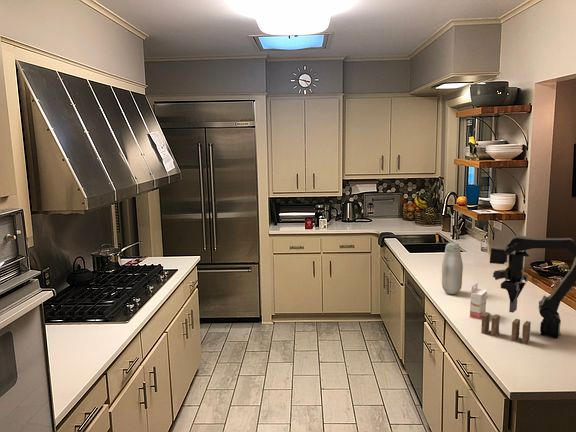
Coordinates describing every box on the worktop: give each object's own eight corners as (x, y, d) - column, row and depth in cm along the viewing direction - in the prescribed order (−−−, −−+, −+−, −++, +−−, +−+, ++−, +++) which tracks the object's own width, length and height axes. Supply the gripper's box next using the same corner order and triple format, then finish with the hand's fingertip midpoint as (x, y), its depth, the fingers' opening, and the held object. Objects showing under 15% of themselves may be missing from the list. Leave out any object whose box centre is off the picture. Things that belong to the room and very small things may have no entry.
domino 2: (498, 332, 197) (499, 315, 196) (494, 336, 193) (495, 318, 192) (494, 331, 198) (495, 314, 197) (490, 335, 194) (491, 317, 193)
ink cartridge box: (480, 319, 212) (481, 288, 209) (469, 317, 215) (470, 286, 213) (486, 313, 218) (487, 283, 216) (475, 311, 221) (476, 282, 219)
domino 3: (518, 337, 192) (520, 319, 190) (515, 341, 188) (516, 323, 187) (514, 336, 193) (515, 318, 191) (511, 340, 189) (512, 322, 188)
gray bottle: (444, 289, 255) (446, 239, 250) (463, 292, 249) (465, 241, 245) (438, 294, 247) (440, 243, 242) (458, 297, 241) (460, 245, 237)
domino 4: (529, 340, 189) (530, 321, 188) (526, 344, 185) (527, 325, 184) (525, 339, 190) (526, 320, 189) (521, 343, 186) (522, 324, 185)
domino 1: (489, 330, 199) (489, 312, 198) (485, 334, 196) (485, 316, 194) (485, 329, 201) (486, 312, 199) (481, 333, 197) (482, 315, 196)
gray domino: (516, 309, 200) (517, 291, 199) (513, 312, 197) (514, 294, 195) (512, 308, 201) (513, 290, 200) (509, 311, 198) (510, 293, 196)
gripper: (502, 258, 208) (500, 291, 210) (488, 267, 194) (486, 302, 197) (529, 261, 201) (527, 296, 203) (517, 271, 187) (514, 308, 189)
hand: (513, 300), depth 198 cm, fingers closed on gray domino, 5 cm apart
